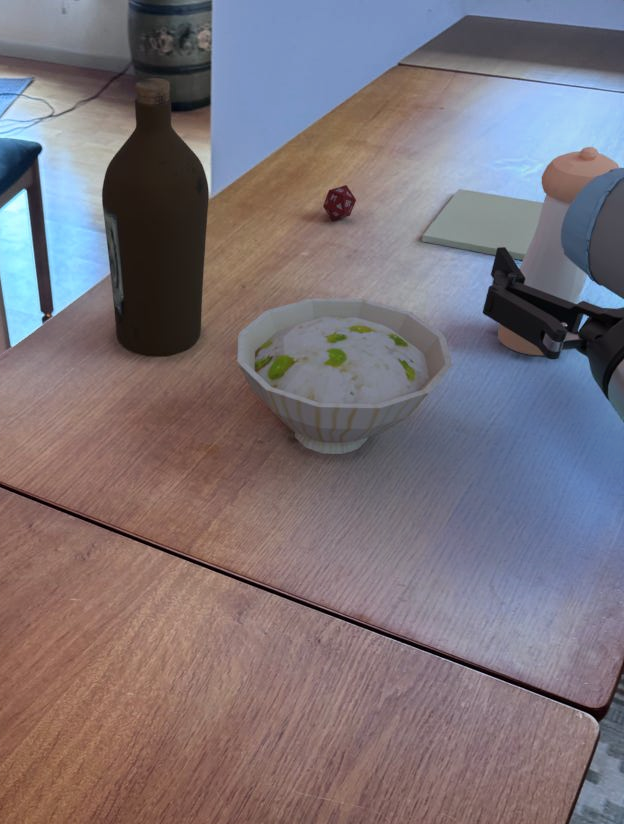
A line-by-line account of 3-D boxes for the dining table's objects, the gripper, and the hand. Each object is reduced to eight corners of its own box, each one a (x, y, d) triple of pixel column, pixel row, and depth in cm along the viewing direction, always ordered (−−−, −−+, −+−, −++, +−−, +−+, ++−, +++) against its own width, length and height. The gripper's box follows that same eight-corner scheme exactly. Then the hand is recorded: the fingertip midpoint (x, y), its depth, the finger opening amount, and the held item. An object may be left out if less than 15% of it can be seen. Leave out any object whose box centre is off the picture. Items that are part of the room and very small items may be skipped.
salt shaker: (487, 344, 98) (538, 154, 84) (510, 315, 102) (562, 129, 88) (556, 362, 95) (620, 168, 81) (576, 332, 99) (641, 142, 85)
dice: (315, 219, 120) (318, 188, 117) (337, 209, 122) (341, 178, 119) (337, 228, 118) (341, 196, 115) (359, 217, 120) (364, 186, 117)
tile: (579, 215, 119) (581, 208, 118) (551, 265, 109) (553, 259, 109) (457, 194, 124) (459, 188, 124) (421, 241, 115) (422, 235, 114)
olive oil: (203, 310, 105) (207, 62, 86) (208, 358, 98) (213, 100, 79) (112, 313, 105) (96, 67, 87) (110, 361, 98) (92, 105, 79)
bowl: (189, 429, 89) (190, 335, 82) (324, 358, 97) (335, 266, 90) (339, 524, 79) (354, 426, 71) (475, 435, 87) (502, 339, 79)
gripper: (490, 418, 78) (432, 299, 92) (782, 406, 78) (679, 289, 92) (513, 338, 72) (448, 224, 87) (828, 325, 72) (710, 213, 86)
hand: (566, 257), depth 89 cm, fingers open, 13 cm apart
